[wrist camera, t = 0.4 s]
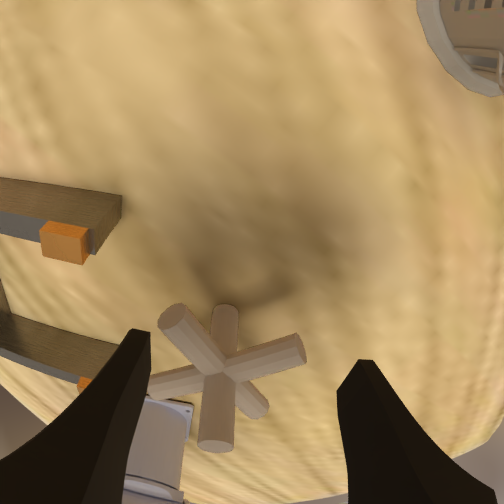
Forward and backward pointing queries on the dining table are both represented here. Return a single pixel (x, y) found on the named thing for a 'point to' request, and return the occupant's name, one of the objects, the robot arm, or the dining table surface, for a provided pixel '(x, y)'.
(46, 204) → the motor mount
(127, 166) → the dining table surface
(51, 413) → the dining table surface
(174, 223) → the dining table surface
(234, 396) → the pipe connector
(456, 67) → the french press
